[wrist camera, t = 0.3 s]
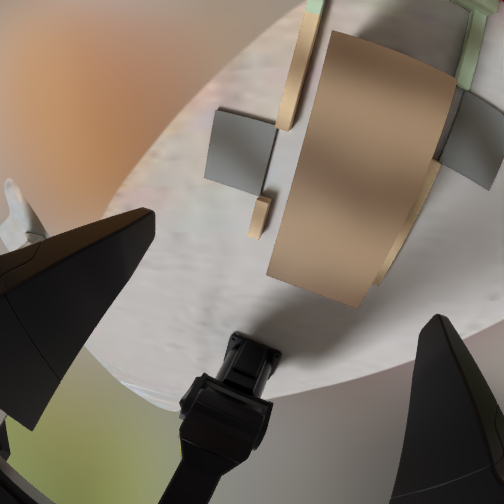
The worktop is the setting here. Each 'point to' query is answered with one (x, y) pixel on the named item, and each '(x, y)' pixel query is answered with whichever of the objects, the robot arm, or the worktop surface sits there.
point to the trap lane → (263, 133)
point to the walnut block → (359, 167)
